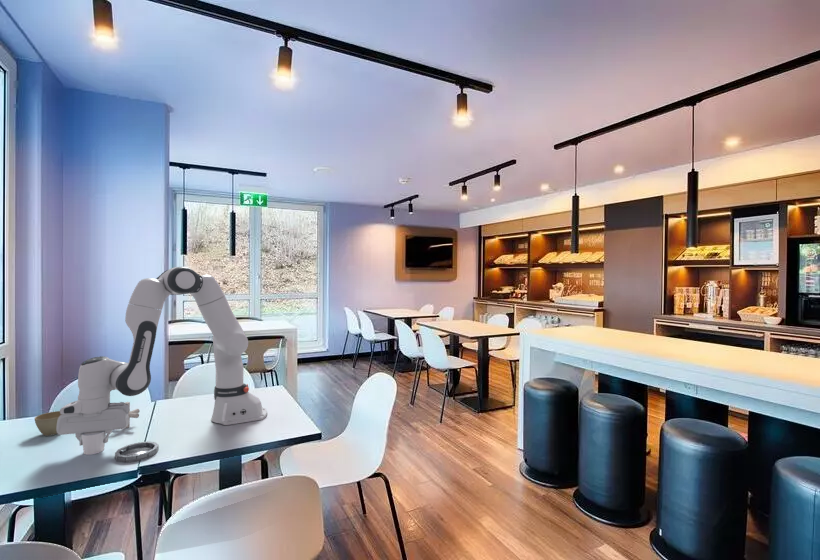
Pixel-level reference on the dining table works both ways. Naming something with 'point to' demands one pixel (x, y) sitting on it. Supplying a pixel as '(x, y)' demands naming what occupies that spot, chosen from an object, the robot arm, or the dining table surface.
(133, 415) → the pipe connector
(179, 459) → the dining table surface
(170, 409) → the dining table surface
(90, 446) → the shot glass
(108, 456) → the dining table surface
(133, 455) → the bowl
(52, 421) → the tan bowl
